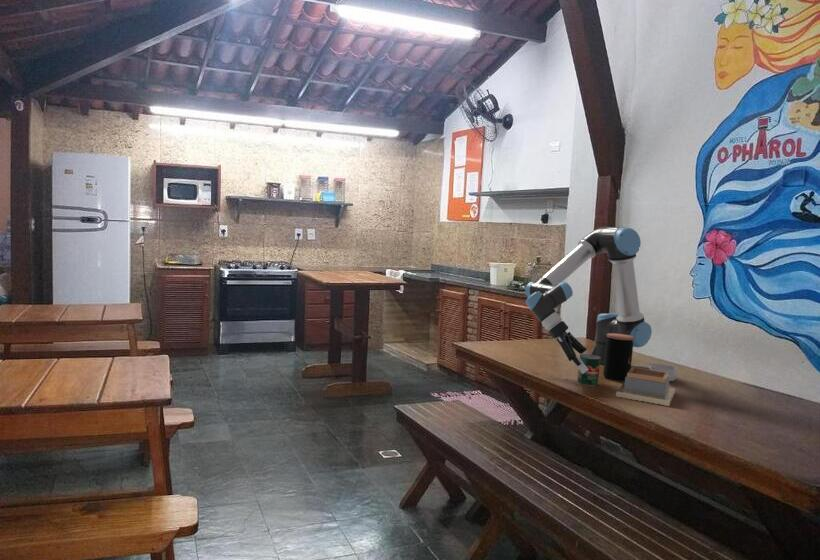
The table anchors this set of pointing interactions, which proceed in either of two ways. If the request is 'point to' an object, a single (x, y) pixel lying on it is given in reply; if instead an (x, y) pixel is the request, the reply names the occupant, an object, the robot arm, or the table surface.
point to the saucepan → (661, 369)
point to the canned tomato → (593, 373)
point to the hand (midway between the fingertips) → (589, 368)
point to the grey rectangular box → (647, 386)
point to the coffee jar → (618, 356)
